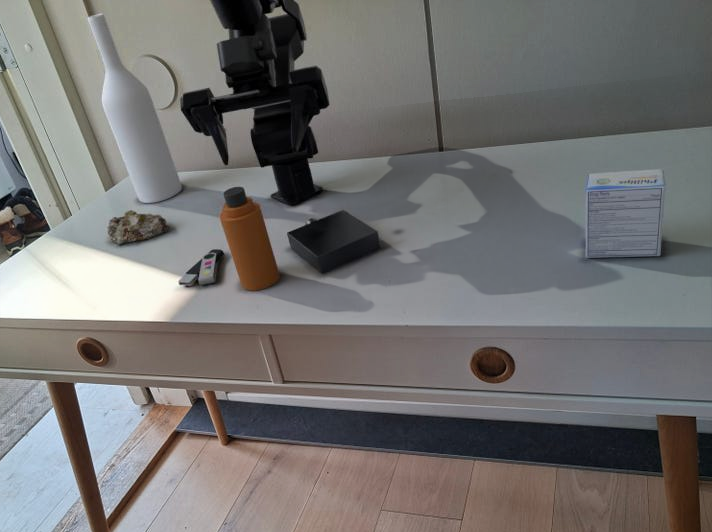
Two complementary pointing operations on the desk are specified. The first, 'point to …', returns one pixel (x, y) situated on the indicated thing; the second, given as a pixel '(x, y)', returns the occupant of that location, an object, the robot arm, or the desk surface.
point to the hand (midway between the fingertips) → (259, 157)
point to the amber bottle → (248, 240)
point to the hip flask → (333, 241)
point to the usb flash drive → (203, 269)
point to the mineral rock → (135, 227)
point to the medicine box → (624, 213)
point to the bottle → (134, 123)
